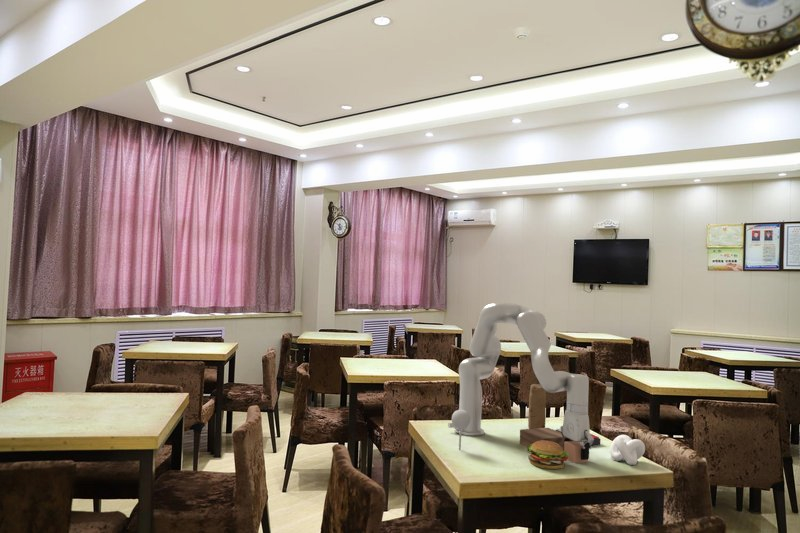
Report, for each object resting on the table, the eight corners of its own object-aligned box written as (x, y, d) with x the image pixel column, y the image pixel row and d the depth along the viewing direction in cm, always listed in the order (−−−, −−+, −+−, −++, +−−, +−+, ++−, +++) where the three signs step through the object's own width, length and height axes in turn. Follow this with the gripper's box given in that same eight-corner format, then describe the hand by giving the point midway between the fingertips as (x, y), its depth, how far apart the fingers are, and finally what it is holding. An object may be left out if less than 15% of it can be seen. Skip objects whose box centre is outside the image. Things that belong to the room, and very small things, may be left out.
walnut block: (542, 454, 195) (543, 438, 196) (519, 444, 208) (520, 429, 208) (571, 452, 201) (571, 436, 201) (547, 442, 214) (547, 427, 214)
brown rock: (545, 433, 227) (546, 387, 229) (527, 431, 229) (529, 385, 231) (544, 427, 238) (546, 383, 239) (528, 425, 240) (529, 382, 241)
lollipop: (458, 446, 200) (459, 406, 201) (473, 450, 195) (474, 410, 196) (446, 449, 195) (448, 409, 196) (461, 453, 190) (462, 412, 191)
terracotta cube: (574, 463, 186) (574, 446, 187) (563, 458, 192) (564, 441, 192) (587, 462, 188) (588, 445, 189) (577, 457, 194) (577, 440, 194)
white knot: (600, 458, 193) (601, 434, 194) (622, 455, 199) (622, 431, 200) (627, 468, 184) (627, 442, 184) (648, 464, 189) (649, 439, 190)
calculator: (580, 438, 208) (555, 427, 221) (580, 449, 208) (554, 437, 221) (601, 436, 212) (574, 426, 226) (600, 447, 212) (574, 435, 226)
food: (576, 469, 179) (577, 446, 179) (540, 471, 175) (541, 447, 175) (553, 457, 192) (554, 435, 192) (520, 459, 188) (520, 436, 188)
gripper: (554, 403, 198) (552, 449, 197) (584, 413, 182) (583, 463, 181) (570, 403, 201) (569, 448, 200) (601, 413, 184) (600, 462, 183)
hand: (575, 455), depth 190 cm, fingers open, 9 cm apart
